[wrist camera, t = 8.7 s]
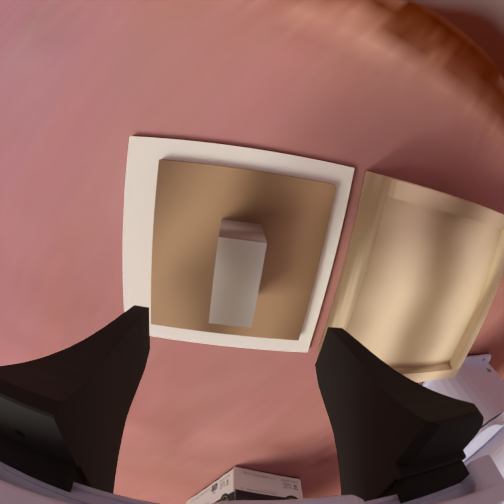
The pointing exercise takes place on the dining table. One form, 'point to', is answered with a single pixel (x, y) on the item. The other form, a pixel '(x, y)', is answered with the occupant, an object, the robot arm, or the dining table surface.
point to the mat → (153, 149)
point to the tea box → (249, 487)
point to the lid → (235, 249)
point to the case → (418, 276)
